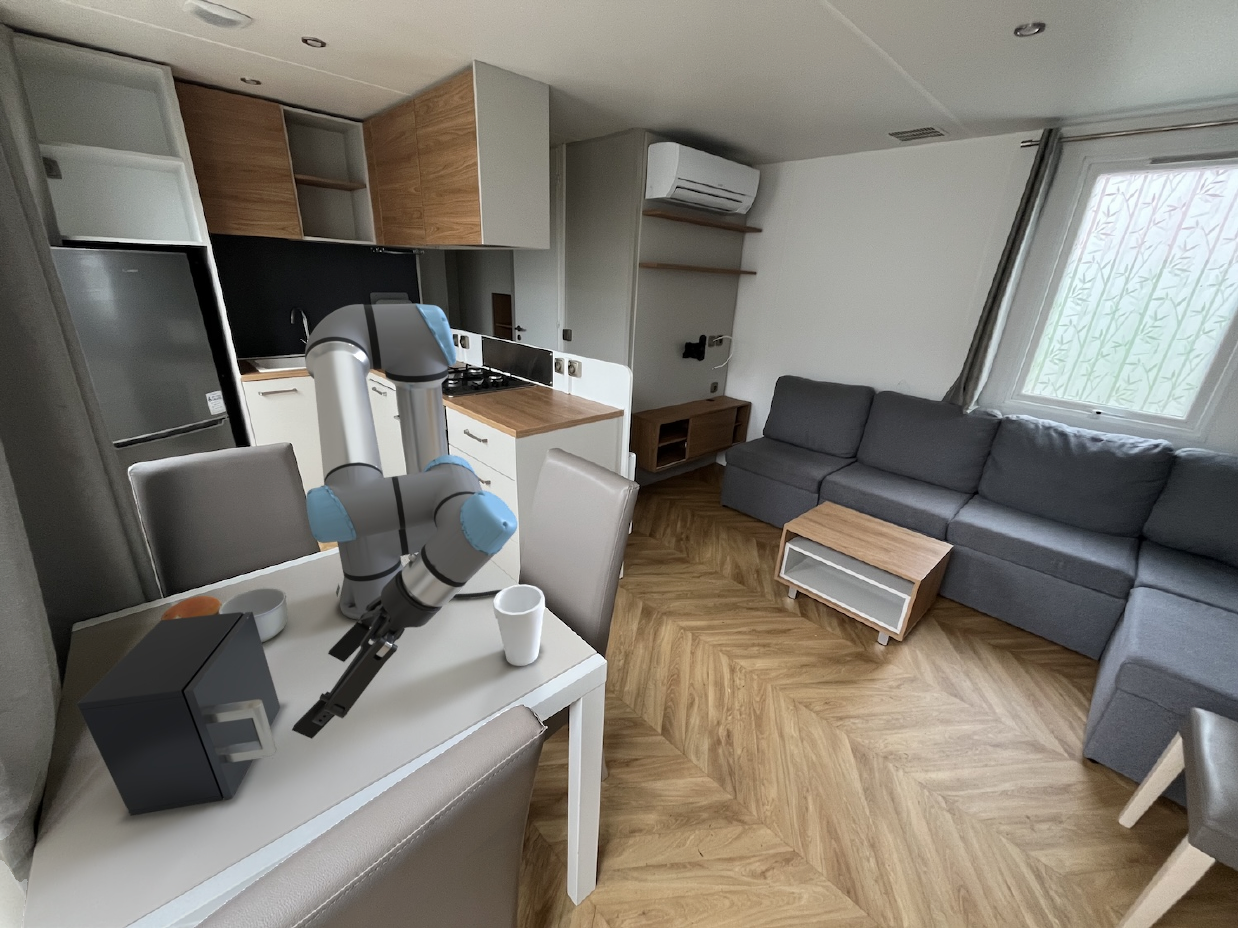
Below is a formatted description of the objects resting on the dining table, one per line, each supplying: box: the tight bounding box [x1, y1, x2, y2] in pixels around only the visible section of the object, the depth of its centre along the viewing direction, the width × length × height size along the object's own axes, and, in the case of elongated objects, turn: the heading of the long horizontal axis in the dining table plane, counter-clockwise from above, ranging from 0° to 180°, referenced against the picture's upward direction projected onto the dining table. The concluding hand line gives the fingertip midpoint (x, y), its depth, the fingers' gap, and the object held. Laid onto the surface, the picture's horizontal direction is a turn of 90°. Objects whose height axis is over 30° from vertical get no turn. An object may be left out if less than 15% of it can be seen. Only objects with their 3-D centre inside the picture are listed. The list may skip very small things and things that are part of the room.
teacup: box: [219, 587, 289, 643], centre depth 98 cm, size 14×11×8 cm
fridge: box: [76, 612, 244, 817], centre depth 72 cm, size 11×16×20 cm
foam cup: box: [492, 583, 546, 667], centre depth 95 cm, size 10×9×13 cm
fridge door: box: [184, 612, 281, 800], centre depth 73 cm, size 7×16×20 cm, turn 12°
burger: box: [160, 595, 223, 621], centre depth 103 cm, size 10×9×5 cm
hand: (321, 690), depth 68 cm, fingers open, 13 cm apart
